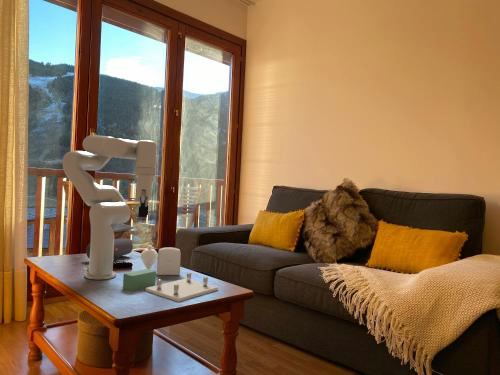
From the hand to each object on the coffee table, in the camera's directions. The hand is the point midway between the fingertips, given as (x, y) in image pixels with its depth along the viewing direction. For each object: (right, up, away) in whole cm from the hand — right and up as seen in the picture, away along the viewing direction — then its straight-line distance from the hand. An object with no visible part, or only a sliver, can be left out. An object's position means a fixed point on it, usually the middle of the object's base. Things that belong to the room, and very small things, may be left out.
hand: (143, 215), depth 157 cm
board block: (-2, -29, +2) cm, 29 cm away
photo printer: (+5, -29, +24) cm, 38 cm away
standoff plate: (+15, -30, +1) cm, 33 cm away
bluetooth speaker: (-30, -26, +48) cm, 62 cm away
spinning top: (-5, -28, +28) cm, 40 cm away
